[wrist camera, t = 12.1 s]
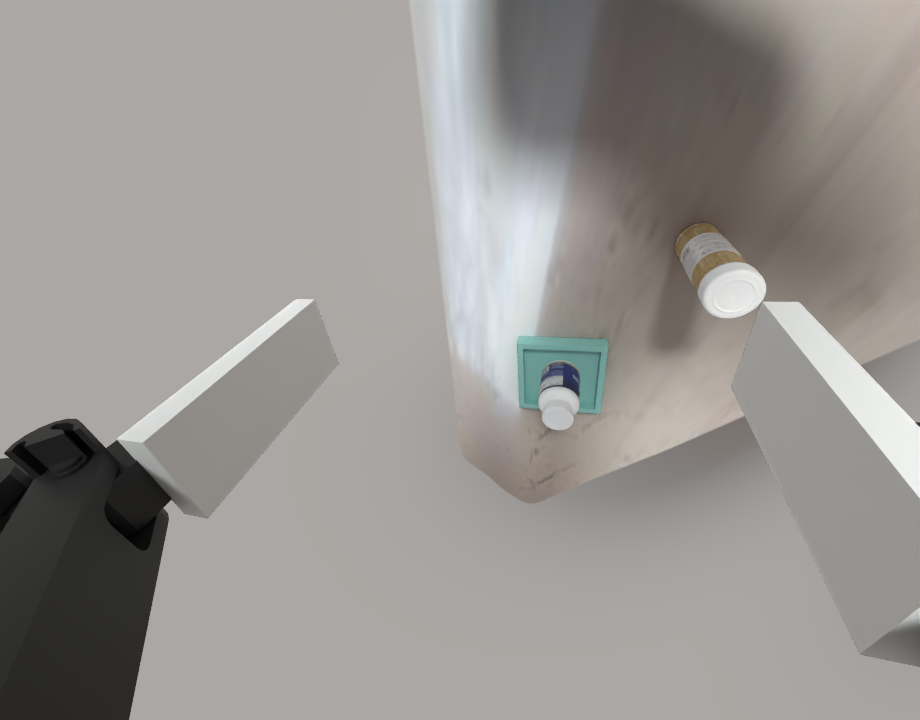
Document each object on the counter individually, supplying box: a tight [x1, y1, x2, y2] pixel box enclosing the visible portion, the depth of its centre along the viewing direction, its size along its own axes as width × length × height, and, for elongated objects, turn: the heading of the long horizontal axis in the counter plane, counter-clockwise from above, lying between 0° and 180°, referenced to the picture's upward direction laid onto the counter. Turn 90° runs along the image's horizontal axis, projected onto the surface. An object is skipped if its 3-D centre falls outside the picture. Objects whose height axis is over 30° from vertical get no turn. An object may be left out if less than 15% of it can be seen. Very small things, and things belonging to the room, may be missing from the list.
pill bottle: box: [538, 360, 580, 430], centre depth 52 cm, size 5×5×10 cm
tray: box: [517, 336, 608, 414], centre depth 56 cm, size 12×12×2 cm
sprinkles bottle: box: [675, 223, 766, 319], centre depth 37 cm, size 5×5×13 cm
